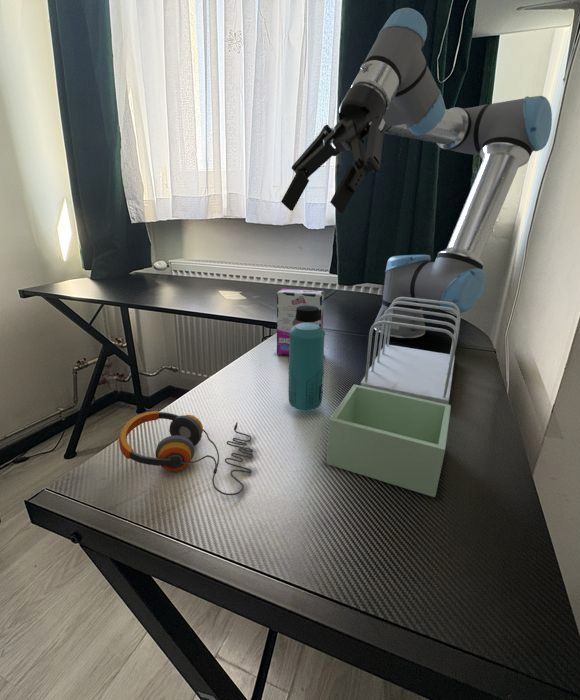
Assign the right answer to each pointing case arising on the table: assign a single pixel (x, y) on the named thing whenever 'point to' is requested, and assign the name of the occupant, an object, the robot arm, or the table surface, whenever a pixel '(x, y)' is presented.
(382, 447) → the basket
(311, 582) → the table surface
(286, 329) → the candy bar box
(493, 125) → the robot arm
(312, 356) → the beverage bottle
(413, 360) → the file sorter
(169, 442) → the headphones
